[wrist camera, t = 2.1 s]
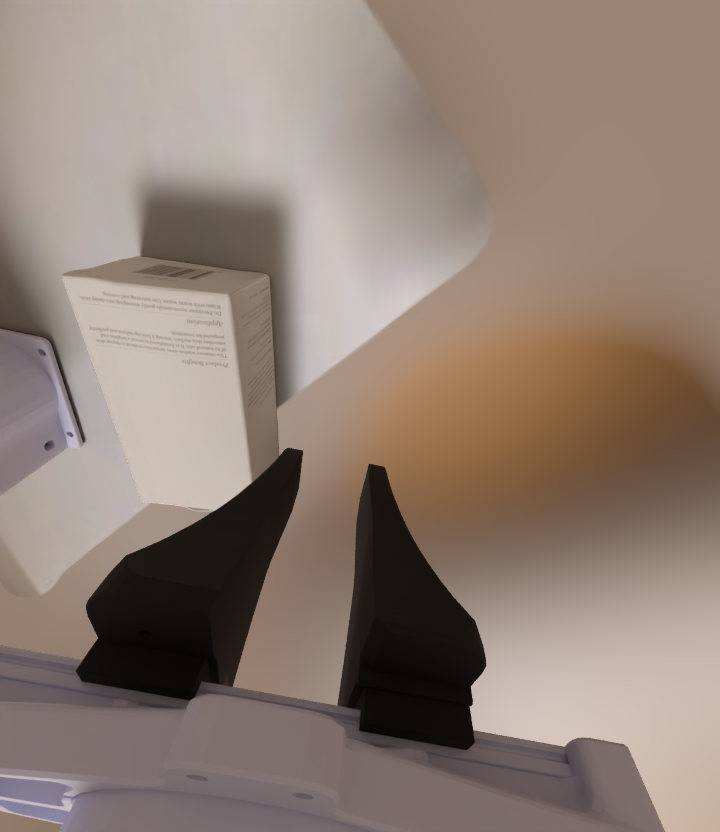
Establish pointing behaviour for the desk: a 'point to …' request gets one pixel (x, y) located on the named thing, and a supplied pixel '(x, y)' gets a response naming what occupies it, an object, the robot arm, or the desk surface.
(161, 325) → the skincare box
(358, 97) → the desk surface
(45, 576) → the desk surface
